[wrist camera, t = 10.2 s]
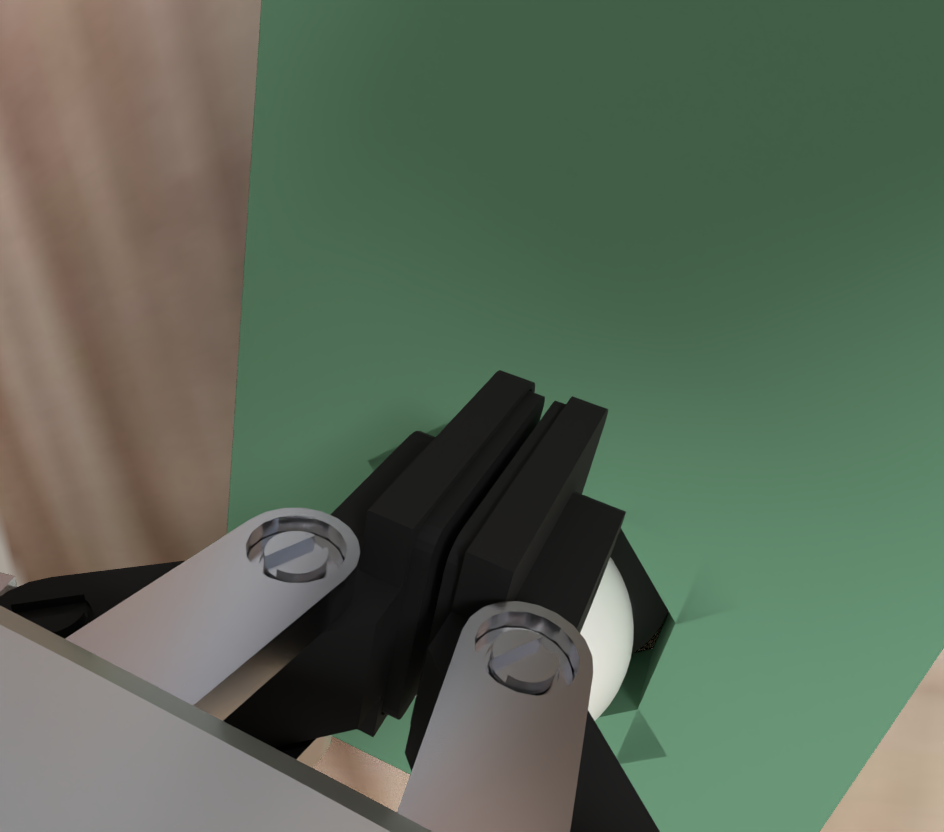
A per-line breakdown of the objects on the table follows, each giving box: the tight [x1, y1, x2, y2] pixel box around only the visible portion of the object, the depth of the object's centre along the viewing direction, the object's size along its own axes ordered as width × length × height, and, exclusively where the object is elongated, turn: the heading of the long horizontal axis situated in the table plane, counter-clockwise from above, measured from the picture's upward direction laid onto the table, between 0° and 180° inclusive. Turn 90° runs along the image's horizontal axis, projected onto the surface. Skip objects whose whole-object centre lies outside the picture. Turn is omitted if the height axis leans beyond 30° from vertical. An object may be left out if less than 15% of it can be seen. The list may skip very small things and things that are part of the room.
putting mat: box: [227, 0, 944, 832], centre depth 20 cm, size 26×18×2 cm
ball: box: [415, 557, 634, 721], centre depth 20 cm, size 6×6×6 cm
